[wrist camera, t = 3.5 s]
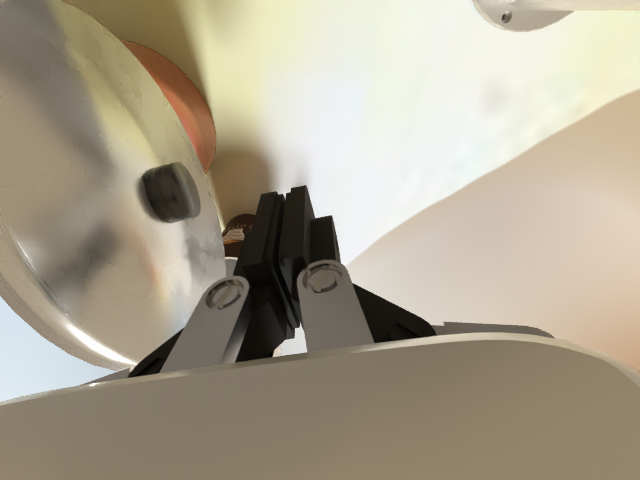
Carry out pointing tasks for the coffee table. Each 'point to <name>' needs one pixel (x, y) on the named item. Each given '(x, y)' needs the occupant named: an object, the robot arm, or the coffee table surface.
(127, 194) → the cooker lid
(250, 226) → the coffee mug
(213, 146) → the red-brown rounded block
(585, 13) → the coffee table surface
